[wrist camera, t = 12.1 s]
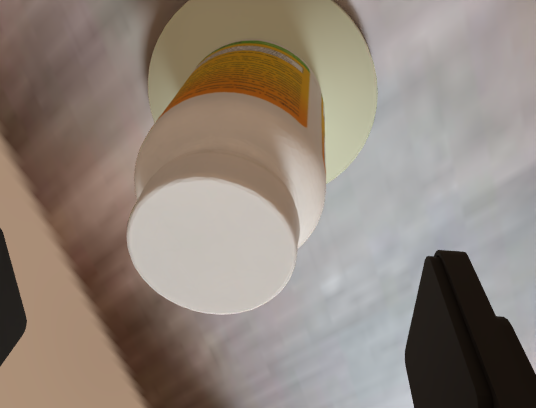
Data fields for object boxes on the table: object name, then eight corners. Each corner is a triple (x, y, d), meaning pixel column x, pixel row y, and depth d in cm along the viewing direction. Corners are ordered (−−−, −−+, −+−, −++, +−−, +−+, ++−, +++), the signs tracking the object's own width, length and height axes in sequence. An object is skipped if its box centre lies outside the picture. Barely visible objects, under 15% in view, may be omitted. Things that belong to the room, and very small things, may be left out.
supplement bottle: (161, 76, 19) (44, 204, 11) (284, 8, 18) (254, 99, 9) (231, 186, 22) (177, 360, 13) (346, 134, 20) (366, 298, 12)
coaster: (360, 198, 22) (362, 207, 22) (163, 185, 23) (158, 194, 22) (391, -22, 18) (394, -19, 17) (142, -31, 18) (135, -28, 18)
